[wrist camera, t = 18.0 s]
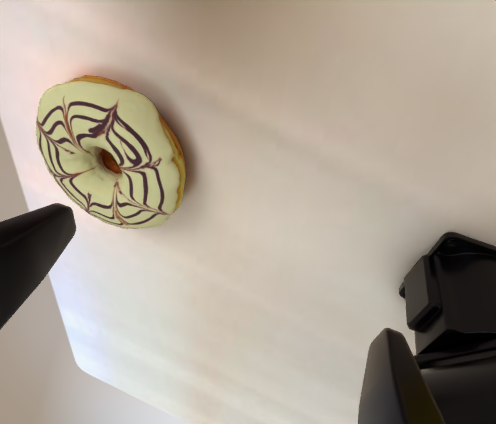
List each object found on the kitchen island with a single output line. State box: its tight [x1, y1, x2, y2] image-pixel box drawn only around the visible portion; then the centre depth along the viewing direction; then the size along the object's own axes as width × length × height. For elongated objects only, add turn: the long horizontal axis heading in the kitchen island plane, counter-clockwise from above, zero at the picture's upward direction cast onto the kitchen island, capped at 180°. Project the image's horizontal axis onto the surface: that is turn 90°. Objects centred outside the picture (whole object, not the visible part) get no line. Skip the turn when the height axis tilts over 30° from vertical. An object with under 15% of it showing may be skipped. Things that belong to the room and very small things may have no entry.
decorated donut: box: [36, 75, 186, 229], centre depth 23 cm, size 10×11×4 cm
